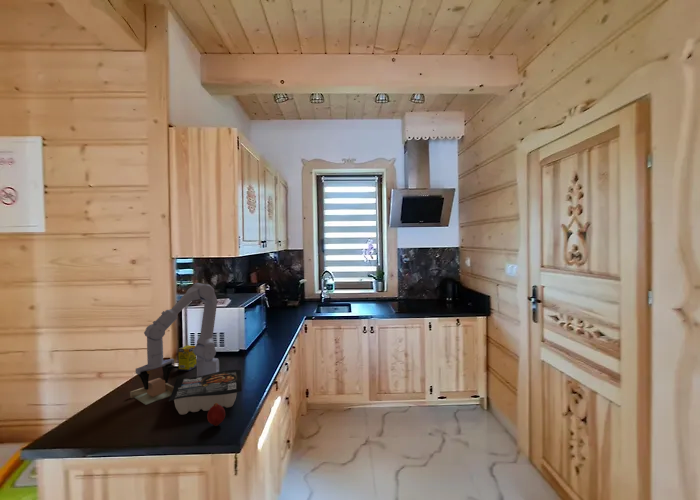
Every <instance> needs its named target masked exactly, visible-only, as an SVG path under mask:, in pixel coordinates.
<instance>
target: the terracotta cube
mask: <svg viewBox="0 0 700 500" xmlns="http://www.w3.org/2000/svg"><path fill="white" fill-rule="evenodd" d="M148 386H149V387H148V390H147V394H149V395H151V396H152V397H154V396H156V395H159V394H162V393H165V380H163V378H161V377H158V378H154V379H151V380H148Z"/></svg>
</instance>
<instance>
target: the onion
mask: <svg viewBox="0 0 700 500" xmlns="http://www.w3.org/2000/svg"><path fill="white" fill-rule="evenodd" d="M225 417H226V410H225V407H224V406H223V407H222V406H221V405H219V404H217V403H215V404H214V406H212V407H211V408H210V410H208V411H207V415H206V418H207V422H208V423H210V425H213V426H215V427H218V426H219V425H221V423H222V422H224V420H225Z"/></svg>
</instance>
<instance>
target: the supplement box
mask: <svg viewBox="0 0 700 500" xmlns="http://www.w3.org/2000/svg"><path fill="white" fill-rule="evenodd" d="M195 346H196V345H187V344H186V345H184V346H182V347H180V348H178V350H177V352H178V371H179V372H180V371H182V372H191V371H192V370H194V369H197V360H196V359H197V356H196V355H195V354H194V348H195Z"/></svg>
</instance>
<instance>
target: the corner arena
mask: <svg viewBox="0 0 700 500" xmlns="http://www.w3.org/2000/svg"><path fill="white" fill-rule="evenodd" d="M173 388H174V385H173V384H170V383H169V382H168V383H165V393H162V394H159V395H156V396H154V397H152V396H151V395H149V394H147V390H146V389H144V386H143V387H140V388H138V389H134V390H131V391H129V399H135V400H137V401H138V402H141V403H142V404H143V405H144V406H146V405H149V404H152V403H155V402H157V401H161V400H163V399H166V398H170V397H171V394H172V391H173Z"/></svg>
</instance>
